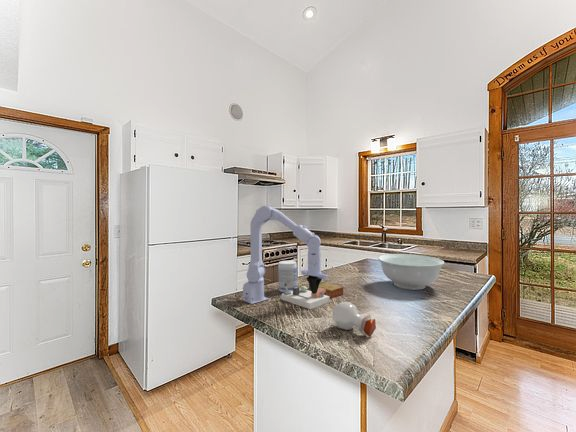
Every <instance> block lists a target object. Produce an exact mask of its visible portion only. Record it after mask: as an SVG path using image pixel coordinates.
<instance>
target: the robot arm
mask: <svg viewBox="0 0 576 432" xmlns="http://www.w3.org/2000/svg"><path fill="white" fill-rule="evenodd" d="M270 220H271V221H279V223H281V224H283V225H284V227H287V228H288V229H290V230H291V231H292V234H293V236H294V237H296V238H297V239H298V240H300V241H301V242H302V243H304V244H306V246H307V269H301V270H300V272H301V275H302V276H307V277H306V281H307V282H308V286H309V285H310V288H311V292H312V293H313V294H315V293H317V290H318V287H319V284H320V282H322V280H324V281H328V280H329V274H326V273H324V272H322V269H321V268H322V267H321V266H322V263H321V262H322V260H321V258H322V257H321V253H322V252H321V244H322V241H321V238H320V237H319V235H318V234H315V232H312V231H310V230H309V229H308V228H307V226H306V225H303V224H296V222H294V221H292V220H291V219H290V218H289V217H288V216H286V215H285V214H284V213H283V212H281V210H278V209H277V208H275V207H274V206H273V205H261V206H260V207H259V208H258V209H257V210H255V213H254V215H253V217H251V220H250V225H249V226H250V261H249V264H248V267H247V268H248V270H247V272H246V279H247V282H244V283H243V285H242V299H241V300H242V301H244V302H246V303H249V304H250V305H253V304H256V303H260V302H263V301H267V300H269V298H268V297H267V296H265V279H264V275H265V274H266V268H265V266H264V261H263V259H262V258H263V255H262V254H263V249H262V248H263V245H262V243H263V239H262V238H263V236H262V235H263V233H262V231H263V229H262V228H263V226H264V224H266V223H267V222H269V221H270Z"/></svg>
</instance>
